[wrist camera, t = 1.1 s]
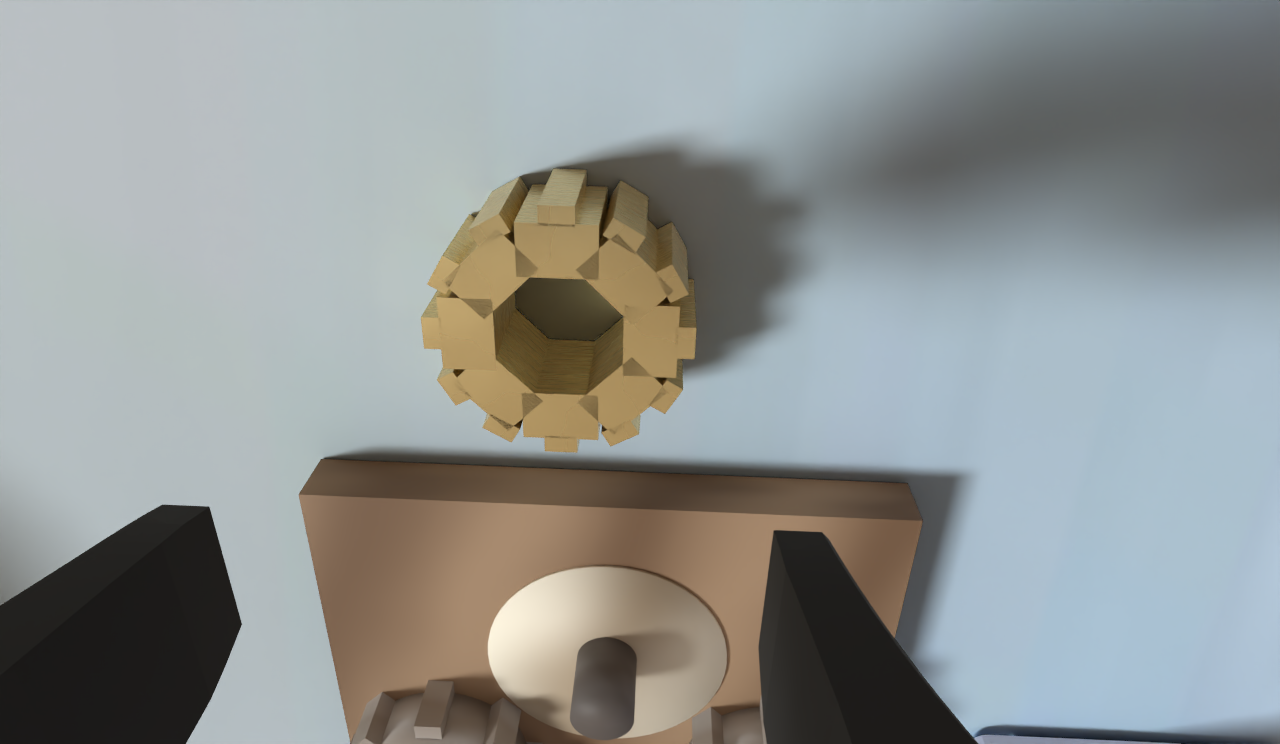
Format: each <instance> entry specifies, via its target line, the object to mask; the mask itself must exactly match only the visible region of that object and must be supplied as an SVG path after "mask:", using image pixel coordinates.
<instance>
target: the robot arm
mask: <svg viewBox="0 0 1280 744" xmlns="http://www.w3.org/2000/svg"><path fill="white" fill-rule="evenodd" d="M241 625H242V623H241V620H240V616H239V612H238V609H237V605H236V602H235V598H234V594H233V591H232V587H231V583H230V580H229V576H228V573H227V569H226V565H225V562H224V558H223V555H222V551H221V547H220V544H219V540H218V537H217V533H216V529H215V526H214V522H213V519H212V515H211V511H210V508H209V507H204V506H180V505H161V506H159V507H157V508H156V509H154V510H152V511H150V512H149V513H147V514H145V515H143V516H142V517H140V518H138V519H137V520H135V521H133V522H132V523H130V524H128V525H127V526H125V527H123V528H122V529H120V530H119V531H117V532H115V533H114V534H112V535H111V536H109V537H107V538H106V539H104V540H103V541H101V542H100V543H98V544H96V545H95V546H93V547H92V548H90V549H89V550H87V551H86V552H84V553H82V554H81V555H79V556H78V557H76V558H75V559H73V560H72V561H70V562H68V563H67V564H65V565H64V566H62V567H61V568H59V569H57V570H56V571H54V572H53V573H51V574H50V575H48V576H46V577H45V578H43V579H42V580H40V581H39V582H37V583H35V584H34V585H32V586H31V587H29V588H28V589H26V590H24V591H23V592H21V593H20V594H18V595H16V596H15V597H13V598H12V599H10V600H9V601H7V602H5V603H4V604H2V605H1V606H0V744H186V742H187V740H188V739H189V737H190V735H191V733H192V732H193V730H194V728H195V726H196V725H197V723H198V721H199V719H200V718H201V716H202V714H203V712H204V710H205V709H206V707H207V705H208V703H209V701H210V700H211V697H212V695H213V693H214V691H215V688H216V686H217V684H218V681H219V679H220V677H221V675H222V672H223V670H224V668H225V665H226V663H227V660H228V658H229V655H230V653H231V650H232V648H233V645H234V643H235V640H236V638H237V635H238V633H239V630H240V628H241ZM758 650H759V666H760V682H761V696H762V710H763V723H764V729H765V735H766V741H767V744H1179V743H1158V742H1136V741H1114V740H1092V739H1070V738H1049V737H1027V736H1005V735H980V736H978V737H975V738H973V737H972V736H971V734H970V733H969V732H968V731H967V730H966V729H965V727H964V726H963V725H962V724H961V723H960V721H959V720H958V719H957V718H956V717H955V715H954V714H953V713H952V712H951V711H950V709H949V708H948V707H947V706H946V704H945V703H944V702H943V701H942V700H941V698H940V697H939V696H938V695H937V693H936V692H935V691H934V690H933V688H932V687H931V686H930V685H929V683H928V682H927V681H926V679H925V678H924V677H923V676H922V674H921V673H920V672H919V670H918V669H917V668H916V666H915V665H914V664H913V662H912V661H911V660H910V658H909V657H908V656H907V654H906V653H905V652H904V650H903V649H902V648H901V646H900V645H899V644H898V642H897V641H896V639H895V638H894V637H893V635H892V634H891V633H890V631H889V630H888V629H887V627H886V626H885V624H884V623H883V622H882V620H881V619H880V617H879V616H878V614H877V613H876V612H875V610H874V609H873V607H872V606H871V604H870V603H869V601H868V600H867V598H866V597H865V595H864V594H863V592H862V591H861V589H860V588H859V586H858V585H857V583H856V582H855V580H854V579H853V577H852V576H851V574H850V572H849V571H848V569H847V568H846V566H845V565H844V563H843V561H842V560H841V558H840V556H839V555H838V553H837V552H836V550H835V548H834V547H833V545H832V543H831V542H830V540H829V539H828V538H827V537H826V536H825V535H824V534H823V532H809V531H785V530H774V531H773V539H772V546H771V554H770V562H769V569H768V577H767V584H766V592H765V600H764V607H763V615H762V622H761V630H760V638H759V645H758Z"/></svg>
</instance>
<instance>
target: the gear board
mask: <svg viewBox="0 0 1280 744" xmlns="http://www.w3.org/2000/svg"><path fill="white" fill-rule="evenodd" d="M299 499H300V503H301V508H302V513H303V518H304V523H305V527H306V532H307V537H308V542H309V546H310V551H311V556H312V561H313V566H314V570H315V575H316V580H317V585H318V589H319V594H320V599H321V604H322V609H323V613H324V618H325V623H326V628H327V633H328V637H329V642H330V647H331V652H332V656H333V661H334V666H335V671H336V676H337V680H338V685H339V690H340V695H341V700H342V704H343V709H344V714H345V719H346V723H347V728H348V733H349V738H350V744H767V741H766V735H765V729H764V723H763V710H762V696H761V682H760V666H759V650H758V645H759V638H760V630H761V622H762V615H763V607H764V600H765V592H766V584H767V577H768V569H769V562H770V554H771V546H772V539H773V531H774V530H785V531H809V532H823V534H824V535H825V536H826V537H827V538H828V539H829V540H830V542H831V543H832V545H833V547H834V548H835V550H836V552H837V553H838V555H839V556H840V558H841V560H842V561H843V563H844V565H845V566H846V568H847V569H848V571H849V572H850V574H851V576H852V577H853V579H854V580H855V582H856V583H857V585H858V586H859V588H860V589H861V591H862V592H863V594H864V595H865V597H866V598H867V600H868V601H869V603H870V604H871V606H872V607H873V609H874V610H875V612H876V613H877V614H878V616H879V617H880V619H881V620H882V622H883V623H884V624H885V626H886V627H887V629H888V630H889V631H890V633H891V634H892V635H893V637H894V638H895V635H896V631H897V626H898V622H899V618H900V614H901V610H902V606H903V602H904V597H905V593H906V589H907V585H908V581H909V577H910V572H911V568H912V564H913V560H914V556H915V552H916V548H917V543H918V539H919V535H920V531H921V527H922V523H923V520H922V518H921V515H920V513H919V510H918V508H917V505H916V503H915V500H914V498H913V496H912V493H911V491H910V488H909V486H908V483H887V482H863V481H839V480H815V479H791V478H767V477H743V476H718V475H694V474H670V473H646V472H622V471H598V470H574V469H550V468H526V467H502V466H478V465H454V464H430V463H406V462H382V461H358V460H334V459H321V460H320V462H319V463H318V465H317V466H316V468H315V470H314V471H313V473H312V474H311V476H310V478H309V479H308V481H307V482H306V484H305V485H304V487H303V489H302V490H301V492H300V493H299Z"/></svg>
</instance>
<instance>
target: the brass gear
mask: <svg viewBox="0 0 1280 744" xmlns="http://www.w3.org/2000/svg"><path fill="white" fill-rule="evenodd" d="M648 198H649V197H648V196H646V195H644V194H643V193H641V192H640V191H638V190H636V189H635V188H633V187H631V186H630V185H628V184H626V183H625V182H623V181H622V180H620V182H619V183H618V185H617V187H616V188H615V190H614V191H613V193H612V195H611V198H610V203H609V207H608V187H603V186H587V170H583V169H556V168H553V171H552V173H551V175H550V177H549V180H548V182H547V184H533V185H532V187H531V189H530V191H529V190H528V189H527V187H526V186H525V184H524V182H523V181H522V179H521V177H520V176H519V177H518V178H516V179H514V180H512V181H510V182H508V183H507V184H505V185H503V186H501V187H499V188H497V189H496V190H494V191H492V193H491V194H490V196H489V197H488V199H487V201H486V202H485V204H484V205H483V207H482V209H481V210H480V212H479V213H478V215H477V217H476V218H475V217H474V216H472V215H470V214H469V216H468V217H467V219H466V220H465V222H464V223H463V225H462V226H461V228H460V229H459V231H458V233H457V234H456V236H455V237H454V239H453V240H452V242H451V243H450V245H449V246H448V248H447V249H446V251H445V252H444V254H443V255H442V257H441V259H440V261H439V263H438V265H437V267H436V269H435V270H434V272H433V274H432V276H431V278H430V280H429V282H428V285H429V286H431V287H433V288H435V289H437V292H436V293H435V295H434V297H433V298H432V300H431V302H430V303H429V305H428V306H427V308H426V310H425V311H424V313H423V315H422V316H421V323H422V332H423V342H424V349H441V351H442V361H443V368H442V370H441V372H440V374H439V376H438V379H437V381H438V382H439V383H440V385H441V386H442V387H443V389H444V390H445V391H446V393H447V394H448V395H449V397H450V398H451V399H452V401H453V402H454V403H455V405H458V404H460V403H462V402H464V401H466V400H468V399H471V400H472V401H473V402H475V403H476V404H477V405H478V406H479V407H480V408H482V409H483V410H484V411H485V412H486V413H488V414H487V416H486V419H485V422H484V425H483V427H482V428H484V429H486V430H488V431H490V432H492V433H494V434H496V435H498V436H500V437H502V438H504V439H506V440H508V441H510V442H512V441H513V439H514V438H515V436H516V435H517V433H518V432H519V430H520V427H521V424H522V421H523V433H524V437H541V438H545V451H553V452H577V451H578V445H579V439H589V440H598V436H599V429H600V424H602V432H601V433H602V434H603V436H604V437H605V439H606V440H607V442H608V443H609V445H610V446H613V445H615V444H617V443H620V442H622V441H624V440H626V439H629V438H631V437H633V436H636V435H638V434H639V428H640V414H641V413H642V412H643V411H645V410H646V409H647V408H649V407H650V406H651V407H653V408H655V409H657V410H659V411H660V412H662V413H664V414H665V413H666V412H667V410H668V409H669V408H670V406H671V405H672V404H673V402H674V401H675V400H676V398H677V397H678V396H679V394H680V393H681V392H682V390H683V368H682V359H695V344H696V329H697V327H696V311H695V294H694V279H688V266H687V248H686V246H685V245H684V243H683V241H682V239H681V237H680V235H679V234H678V232H677V230H676V228H675V226H674V224H673V222H670V223H669V224H667V225H665V226H663V227H661V228H659V229H657V228H656V227H655V226H654V225H653V224H652V223H651V222H650V221H649V220H648V219H647V211H648ZM530 277H534V278H560V279H585V280H586V281H587V282H588V283H589V284H590V285H591V286H592V287H594V288H595V289H596V290H597V291H598V292H599V293H600V294H601V295H602V296H603V297H604V298H605V299H606V300H607V301H608V302H609V303H610V304H611V305H612V306H613V307H614V308H615V309H616V310H617V311H618V312H619V313H620V314H622V315H623V316H624V317H623V318H622V319H620V320H619V321H618V322H617V323H616V324H615V325H613V326H612V327H611V328H610V329H609V330H608V331H606V332H605V333H604V334H603V335H602V336H601V337H599V338H598V339H597V340H596V341H578V340H553V339H548V338H547V337H546V336H545V335H544V334H543V333H542V332H541V331H540V330H538V329H537V328H536V327H535V326H534V325H533V324H532V323H531V322H530V321H529V320H528V319H526V318H525V317H524V316H523V315H522V314H521V313H520V312H519V311H518V310H517V309H515V291H516V290H517V289H518V288H519V287H520V286H521V285H522V284H523V283H524V282H525V281H526V280H527V279H528V278H530Z"/></svg>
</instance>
